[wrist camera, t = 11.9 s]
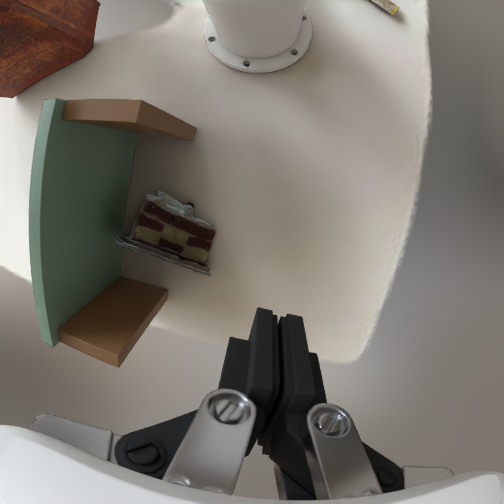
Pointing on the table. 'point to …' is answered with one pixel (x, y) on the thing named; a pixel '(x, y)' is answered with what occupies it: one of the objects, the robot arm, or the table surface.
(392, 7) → the snack bar
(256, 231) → the table surface
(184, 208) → the chocolate cake
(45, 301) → the cubby shelf
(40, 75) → the handbag
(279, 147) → the table surface
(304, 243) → the table surface
